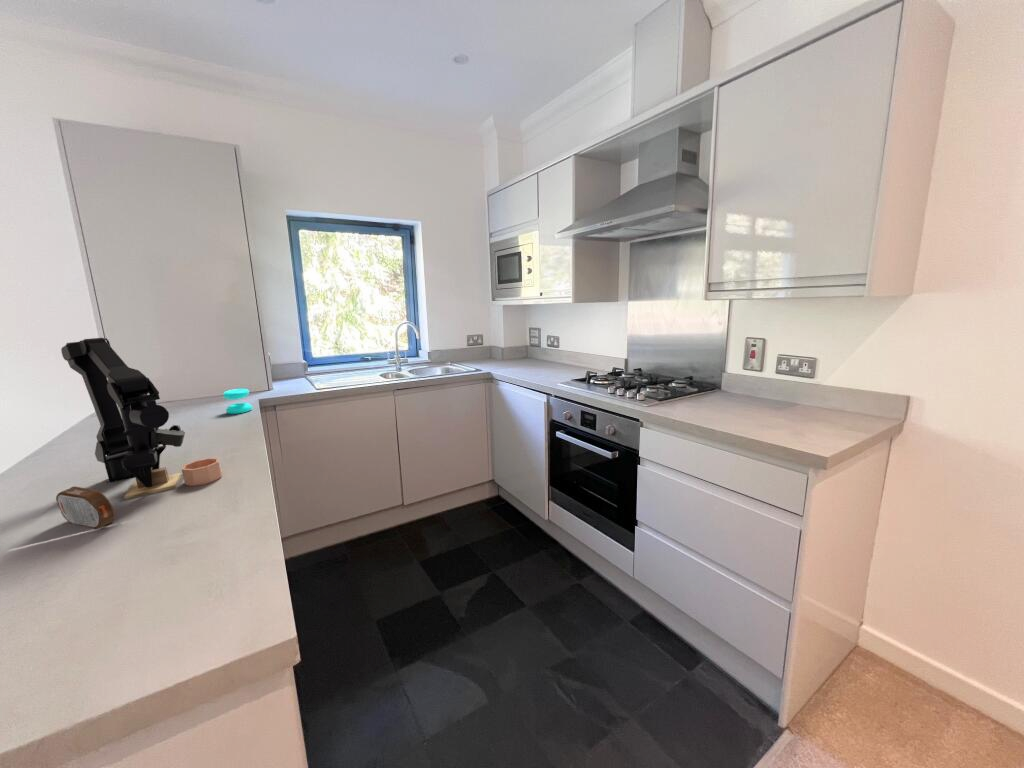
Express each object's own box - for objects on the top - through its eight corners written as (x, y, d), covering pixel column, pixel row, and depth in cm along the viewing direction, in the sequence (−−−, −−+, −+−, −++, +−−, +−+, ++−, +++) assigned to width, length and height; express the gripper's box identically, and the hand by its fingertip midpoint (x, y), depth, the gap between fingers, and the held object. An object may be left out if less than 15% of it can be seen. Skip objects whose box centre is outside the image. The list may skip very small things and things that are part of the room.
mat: (119, 503, 104) (118, 502, 103) (130, 486, 114) (130, 485, 114) (180, 489, 110) (179, 488, 109) (186, 474, 120) (185, 473, 120)
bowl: (184, 490, 109) (180, 472, 108) (188, 480, 116) (184, 463, 115) (221, 482, 113) (217, 464, 112) (223, 472, 120) (219, 455, 119)
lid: (125, 499, 105) (120, 483, 104) (134, 485, 113) (130, 470, 112) (175, 488, 110) (171, 472, 109) (180, 475, 118) (177, 461, 117)
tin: (119, 525, 93) (109, 489, 91) (102, 533, 90) (91, 496, 88) (78, 517, 98) (68, 483, 96) (60, 524, 95) (49, 489, 93)
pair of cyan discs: (237, 392, 185) (216, 393, 186) (241, 414, 187) (221, 415, 188) (253, 387, 194) (234, 388, 196) (257, 408, 196) (238, 409, 198)
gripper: (173, 425, 104) (186, 484, 107) (183, 410, 120) (194, 462, 123) (113, 435, 99) (129, 497, 102) (132, 418, 114) (145, 472, 118)
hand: (153, 480), depth 111 cm, fingers open, 9 cm apart
